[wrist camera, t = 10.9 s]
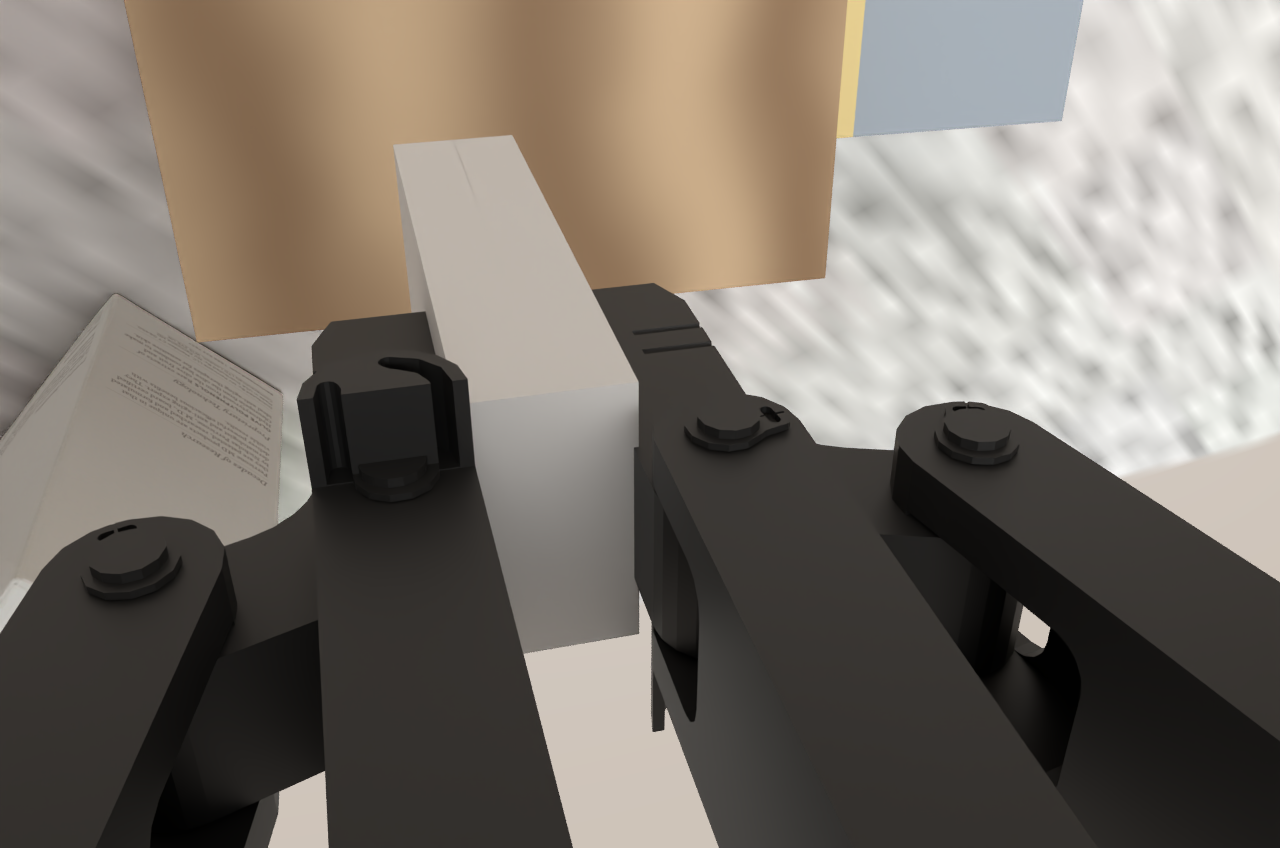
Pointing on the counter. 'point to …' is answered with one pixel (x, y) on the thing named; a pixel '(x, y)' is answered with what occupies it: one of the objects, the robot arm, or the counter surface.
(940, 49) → the slate-blue block
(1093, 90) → the counter surface
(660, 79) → the oak plinth
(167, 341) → the skincare box
